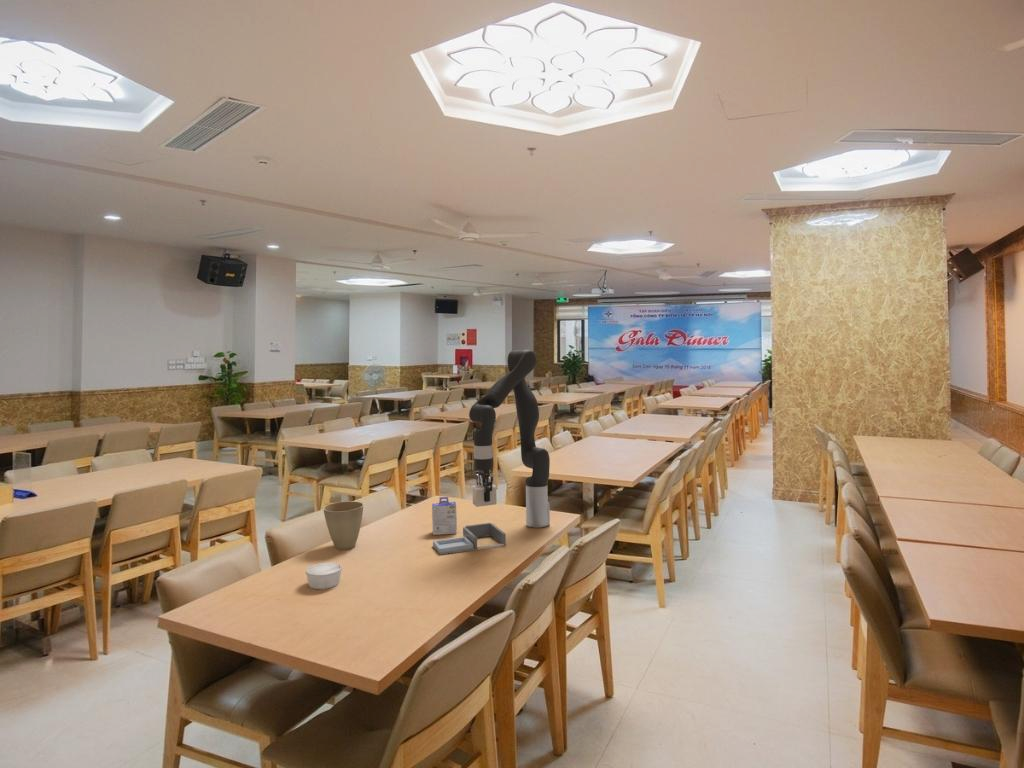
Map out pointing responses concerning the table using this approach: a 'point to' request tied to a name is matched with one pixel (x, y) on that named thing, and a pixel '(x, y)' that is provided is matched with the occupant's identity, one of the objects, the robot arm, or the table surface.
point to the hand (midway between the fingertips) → (484, 499)
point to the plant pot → (344, 523)
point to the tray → (453, 545)
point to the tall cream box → (479, 496)
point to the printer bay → (484, 534)
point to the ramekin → (323, 575)
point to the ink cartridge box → (444, 517)
